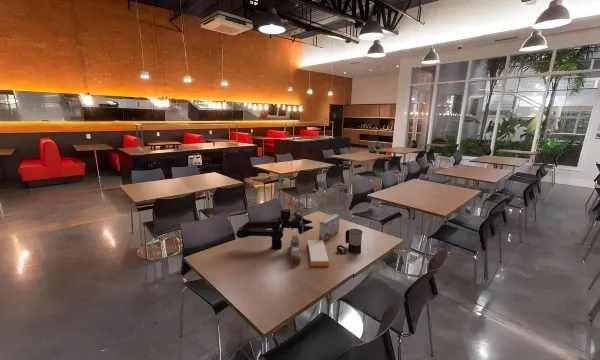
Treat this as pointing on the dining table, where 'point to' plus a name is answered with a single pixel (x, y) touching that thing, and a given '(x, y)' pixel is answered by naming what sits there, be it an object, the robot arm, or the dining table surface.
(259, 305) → the dining table surface
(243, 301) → the dining table surface
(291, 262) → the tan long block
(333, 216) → the snack box
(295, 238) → the crate
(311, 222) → the robot arm
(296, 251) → the crate
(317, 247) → the panel
